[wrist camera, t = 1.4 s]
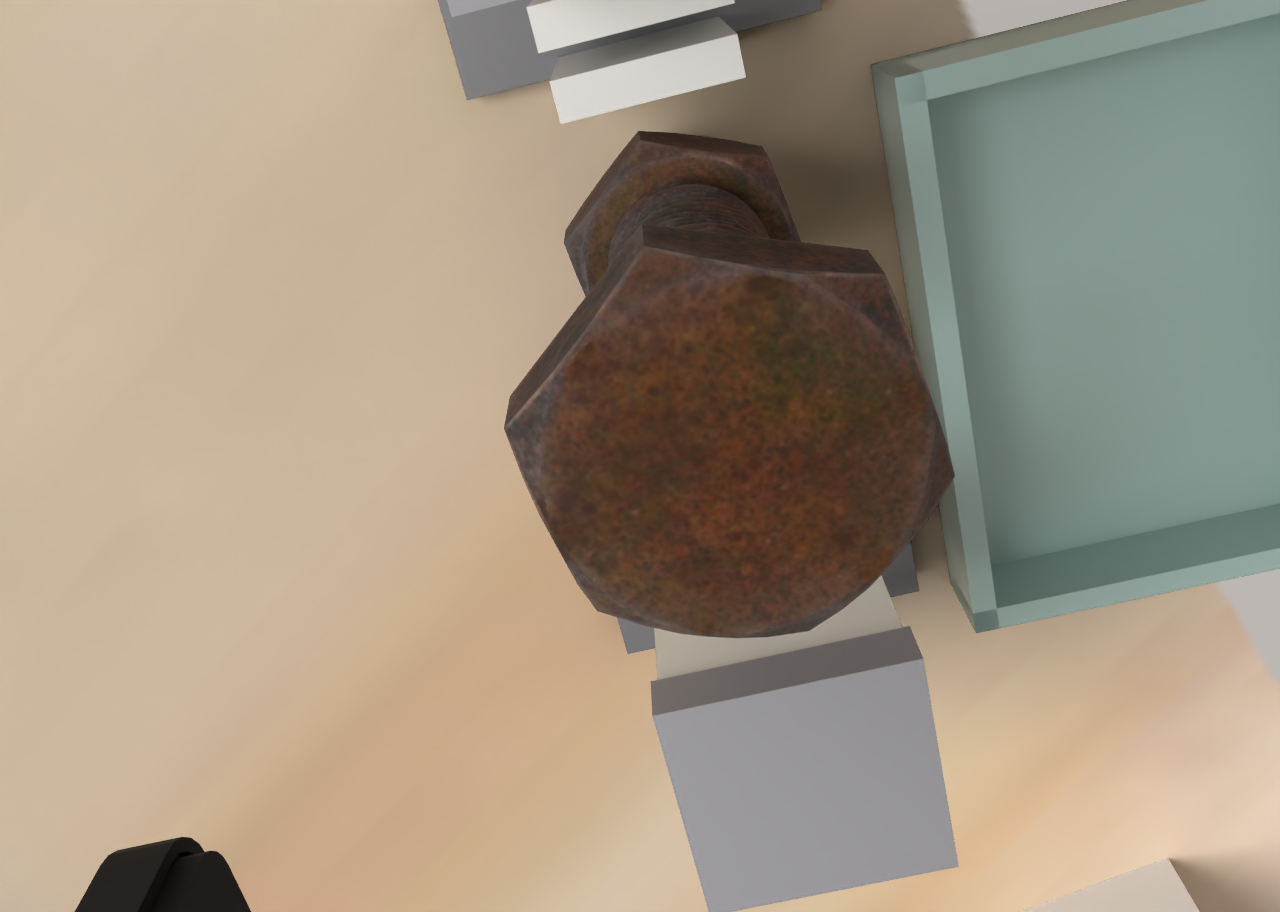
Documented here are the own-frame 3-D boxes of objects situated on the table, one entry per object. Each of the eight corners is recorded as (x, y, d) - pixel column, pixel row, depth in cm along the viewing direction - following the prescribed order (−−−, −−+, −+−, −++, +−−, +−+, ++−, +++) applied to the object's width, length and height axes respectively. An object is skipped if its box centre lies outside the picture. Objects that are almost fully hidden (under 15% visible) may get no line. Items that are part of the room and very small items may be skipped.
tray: (870, 64, 27) (894, 78, 25) (1317, -48, 27) (1383, -44, 24) (950, 583, 33) (975, 633, 31) (1321, 503, 32) (1375, 548, 30)
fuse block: (355, -305, 24) (152, -480, 14) (744, -415, 24) (856, -691, 13) (627, 638, 34) (635, 980, 23) (912, 576, 33) (1058, 897, 22)
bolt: (666, 31, 27) (724, 151, 13) (836, 167, 28) (1046, 404, 15) (518, 236, 29) (434, 526, 15) (684, 355, 30) (745, 720, 16)
